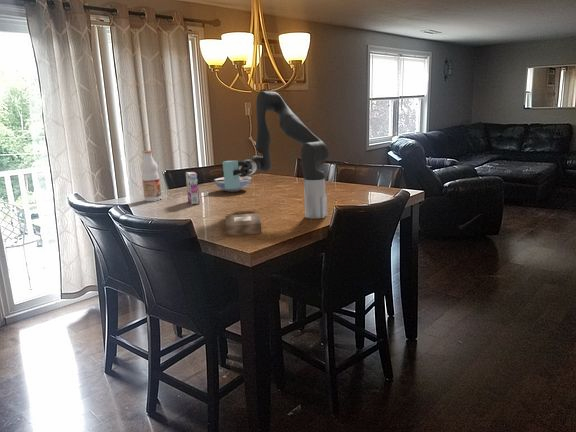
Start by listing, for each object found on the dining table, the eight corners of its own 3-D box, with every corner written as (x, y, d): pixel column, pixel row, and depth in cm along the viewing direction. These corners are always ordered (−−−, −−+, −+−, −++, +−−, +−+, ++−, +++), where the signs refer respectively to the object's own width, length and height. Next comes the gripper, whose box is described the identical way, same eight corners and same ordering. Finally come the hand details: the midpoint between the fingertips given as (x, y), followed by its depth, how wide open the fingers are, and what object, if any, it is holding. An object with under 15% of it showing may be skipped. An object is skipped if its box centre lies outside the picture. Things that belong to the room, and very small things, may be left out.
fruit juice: (142, 200, 256) (136, 151, 250) (158, 197, 261) (153, 149, 255) (147, 202, 249) (141, 152, 242) (164, 199, 254) (158, 150, 247)
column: (240, 186, 203) (237, 160, 200) (234, 188, 198) (232, 161, 196) (230, 186, 205) (228, 160, 202) (225, 188, 200) (222, 162, 197)
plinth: (258, 221, 195) (257, 212, 194) (261, 233, 178) (261, 222, 177) (226, 224, 194) (225, 215, 193) (226, 235, 176) (225, 225, 175)
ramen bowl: (255, 186, 282) (255, 174, 280) (251, 193, 260) (250, 180, 258) (216, 188, 283) (215, 175, 281) (209, 195, 261) (208, 181, 259)
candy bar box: (200, 204, 238) (197, 173, 234) (191, 205, 236) (187, 174, 232) (196, 200, 248) (194, 171, 244) (187, 201, 246) (184, 172, 242)
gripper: (232, 160, 215) (213, 164, 199) (258, 159, 209) (241, 164, 194) (233, 175, 216) (215, 181, 201) (260, 175, 211) (243, 181, 196)
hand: (228, 173), depth 198 cm, fingers closed on column, 5 cm apart
